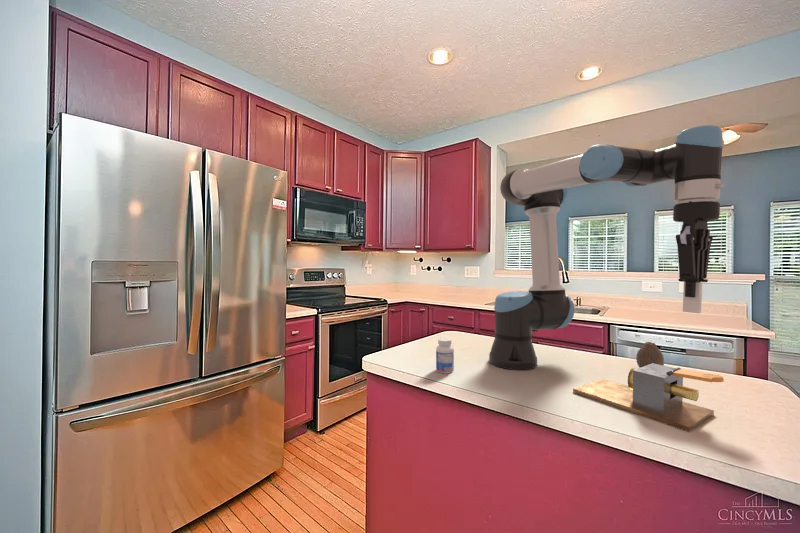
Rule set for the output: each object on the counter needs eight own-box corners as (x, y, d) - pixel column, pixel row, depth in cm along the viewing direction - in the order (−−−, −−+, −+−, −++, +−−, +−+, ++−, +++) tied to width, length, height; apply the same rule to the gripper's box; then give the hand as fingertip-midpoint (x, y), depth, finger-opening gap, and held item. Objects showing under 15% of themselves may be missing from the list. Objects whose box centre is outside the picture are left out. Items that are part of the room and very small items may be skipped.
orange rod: (673, 375, 74) (673, 372, 74) (681, 372, 77) (681, 368, 77) (719, 383, 68) (719, 380, 68) (726, 379, 70) (726, 376, 70)
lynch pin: (627, 391, 82) (627, 369, 82) (637, 387, 84) (638, 366, 84) (691, 410, 71) (692, 385, 71) (700, 404, 74) (701, 381, 74)
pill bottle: (439, 367, 109) (440, 336, 109) (456, 369, 107) (456, 338, 107) (433, 372, 104) (433, 340, 104) (450, 374, 102) (450, 342, 102)
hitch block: (573, 392, 88) (573, 354, 88) (601, 381, 96) (602, 346, 96) (688, 432, 68) (689, 382, 68) (713, 414, 76) (714, 370, 75)
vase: (639, 373, 103) (639, 344, 103) (633, 366, 110) (634, 339, 109) (667, 376, 101) (667, 346, 100) (659, 369, 107) (660, 341, 107)
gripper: (707, 197, 66) (702, 317, 67) (729, 202, 73) (725, 312, 74) (661, 202, 73) (658, 312, 74) (686, 206, 80) (682, 307, 81)
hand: (691, 312), depth 74 cm, fingers closed
